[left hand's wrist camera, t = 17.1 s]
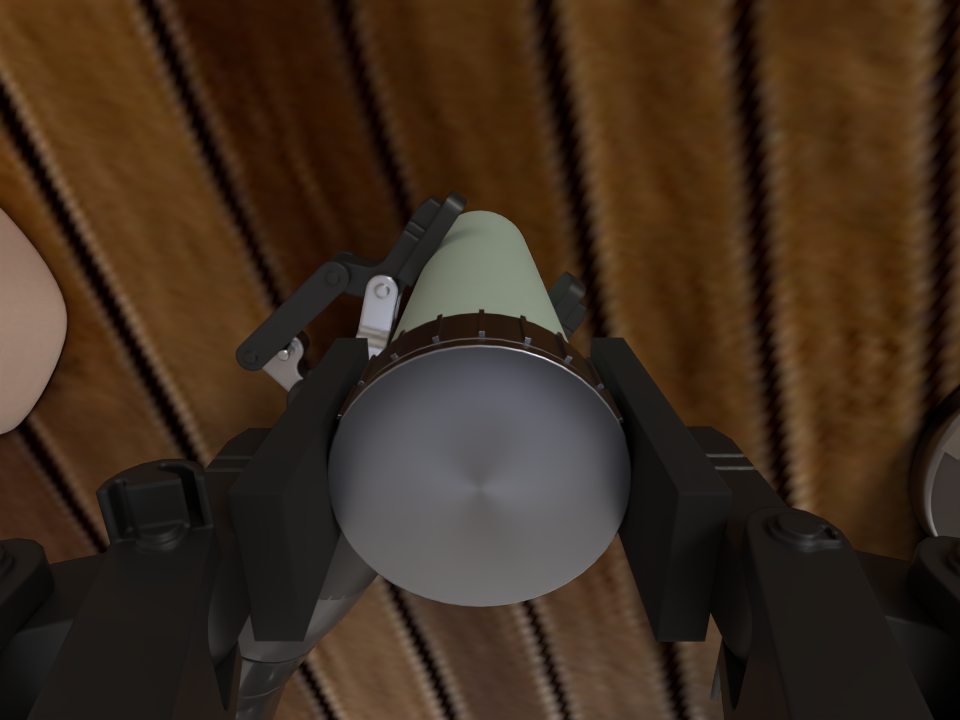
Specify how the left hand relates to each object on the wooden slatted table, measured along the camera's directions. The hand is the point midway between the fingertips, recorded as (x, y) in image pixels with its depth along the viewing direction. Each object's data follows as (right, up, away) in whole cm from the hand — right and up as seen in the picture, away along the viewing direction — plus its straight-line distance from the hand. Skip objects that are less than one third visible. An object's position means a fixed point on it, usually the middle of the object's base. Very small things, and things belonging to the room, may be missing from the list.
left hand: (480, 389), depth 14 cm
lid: (0, -1, -4) cm, 4 cm away
